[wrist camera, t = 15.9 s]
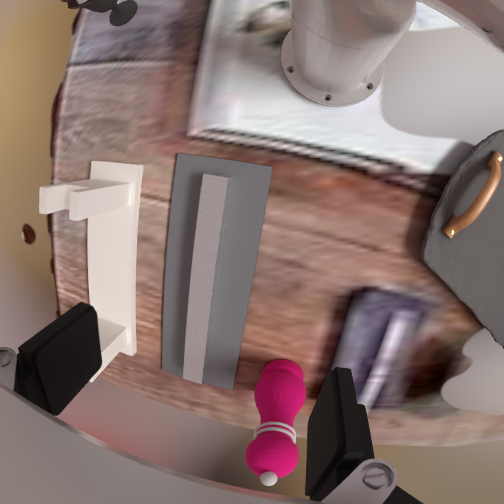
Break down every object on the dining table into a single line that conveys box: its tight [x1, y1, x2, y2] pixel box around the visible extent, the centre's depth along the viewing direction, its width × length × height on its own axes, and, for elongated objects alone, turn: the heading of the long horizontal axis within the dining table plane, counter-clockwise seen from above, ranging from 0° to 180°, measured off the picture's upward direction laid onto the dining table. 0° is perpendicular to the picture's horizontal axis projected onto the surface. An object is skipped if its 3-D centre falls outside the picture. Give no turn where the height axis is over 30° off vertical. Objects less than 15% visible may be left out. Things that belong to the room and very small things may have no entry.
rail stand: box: [39, 160, 143, 382], centre depth 37 cm, size 30×8×12 cm, turn 170°
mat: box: [162, 153, 273, 390], centre depth 41 cm, size 34×12×1 cm, turn 170°
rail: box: [183, 173, 233, 384], centre depth 40 cm, size 30×3×2 cm, turn 170°
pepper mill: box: [246, 359, 306, 486], centre depth 34 cm, size 7×7×20 cm
